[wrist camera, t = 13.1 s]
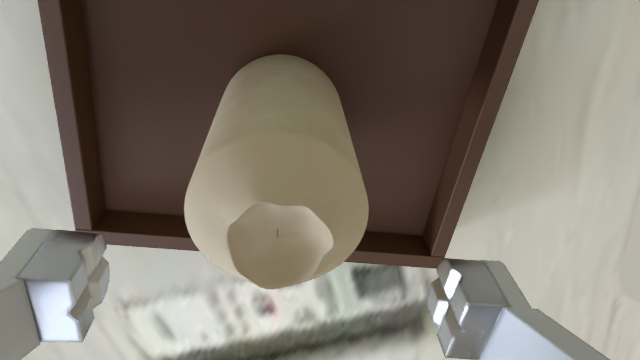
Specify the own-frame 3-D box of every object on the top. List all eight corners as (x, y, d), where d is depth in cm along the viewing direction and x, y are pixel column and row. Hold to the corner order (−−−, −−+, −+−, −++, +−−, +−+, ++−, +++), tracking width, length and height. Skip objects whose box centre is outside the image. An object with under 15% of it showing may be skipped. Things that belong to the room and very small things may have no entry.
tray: (55, -108, 17) (17, -113, 14) (518, -32, 19) (549, -26, 17) (97, 212, 24) (76, 242, 21) (427, 239, 26) (440, 269, 24)
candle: (209, 60, 19) (144, 175, 11) (334, 44, 19) (371, 145, 11) (236, 170, 22) (201, 330, 13) (345, 156, 22) (381, 308, 13)
